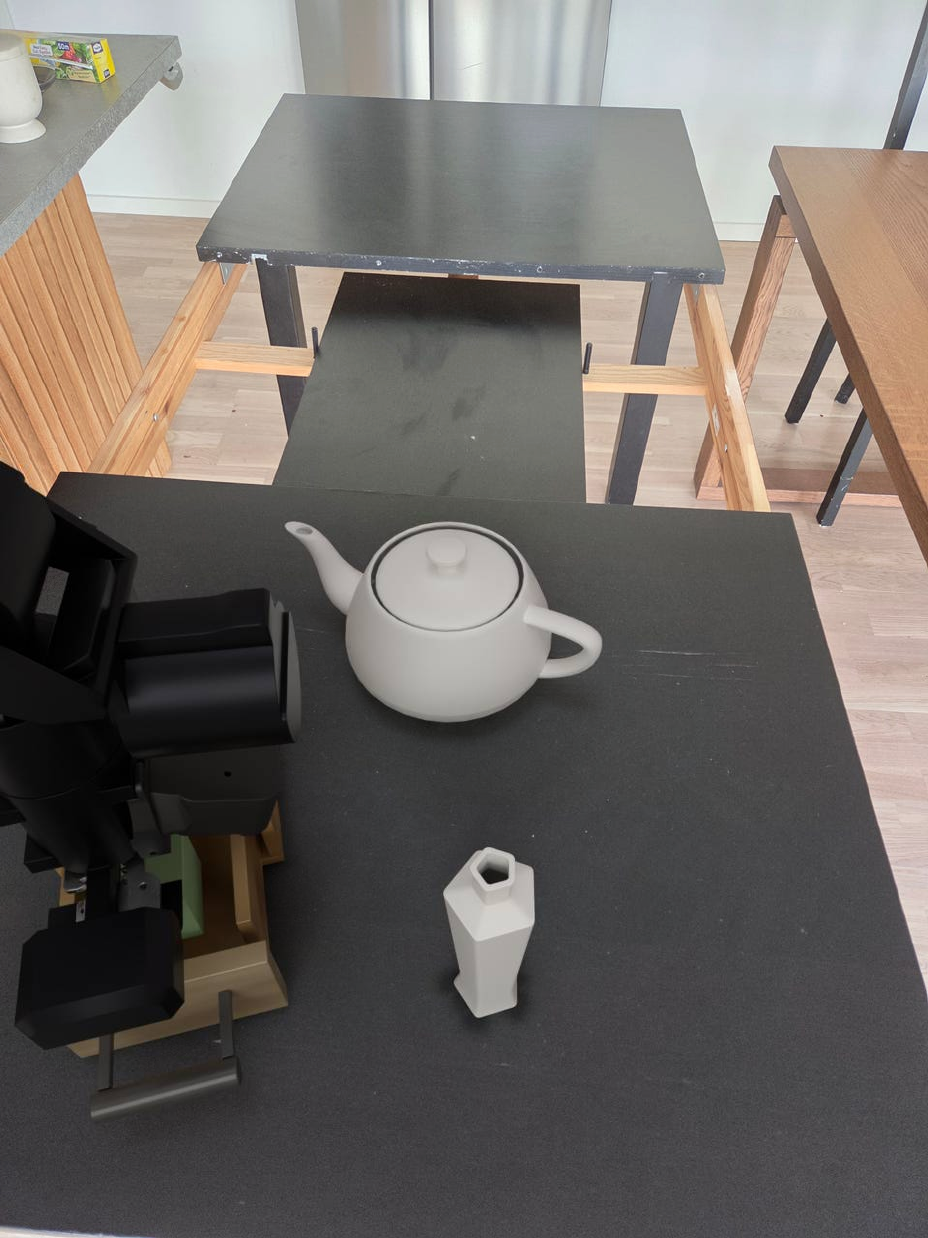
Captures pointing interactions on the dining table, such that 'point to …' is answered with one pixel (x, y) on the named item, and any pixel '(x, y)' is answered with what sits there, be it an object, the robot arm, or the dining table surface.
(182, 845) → the block
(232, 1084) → the drawer
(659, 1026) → the dining table surface
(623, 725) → the dining table surface
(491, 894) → the white faceted vase
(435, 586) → the teapot
